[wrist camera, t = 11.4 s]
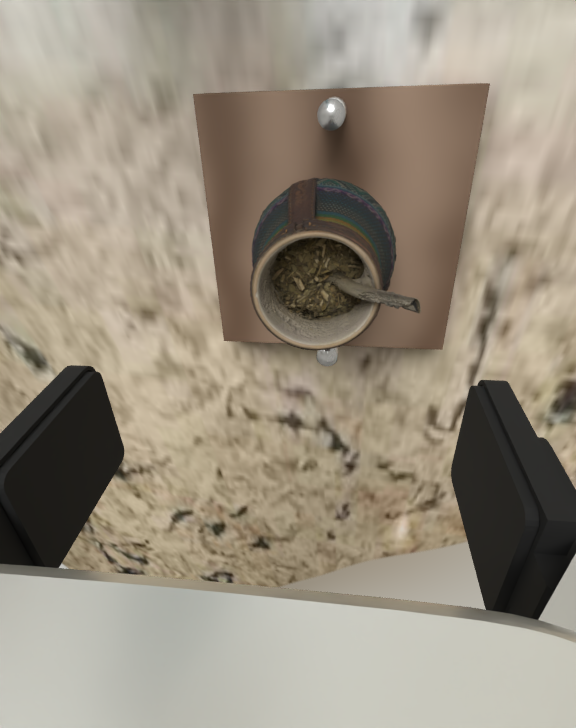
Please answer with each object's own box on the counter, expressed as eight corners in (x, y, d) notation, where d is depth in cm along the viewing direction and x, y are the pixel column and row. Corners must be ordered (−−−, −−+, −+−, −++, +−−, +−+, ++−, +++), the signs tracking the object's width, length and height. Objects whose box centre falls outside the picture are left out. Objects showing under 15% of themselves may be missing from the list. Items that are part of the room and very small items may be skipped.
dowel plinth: (233, 323, 31) (211, 364, 27) (207, 93, 24) (171, 95, 19) (436, 330, 30) (450, 376, 25) (477, 83, 22) (508, 83, 18)
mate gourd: (243, 193, 24) (181, 252, 16) (380, 143, 22) (392, 180, 14) (287, 309, 28) (256, 408, 19) (410, 275, 25) (435, 371, 17)
